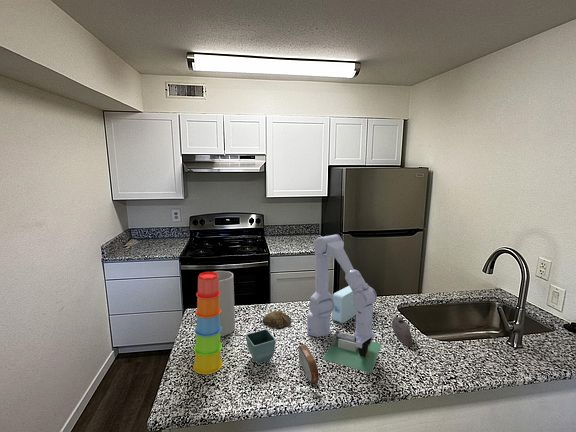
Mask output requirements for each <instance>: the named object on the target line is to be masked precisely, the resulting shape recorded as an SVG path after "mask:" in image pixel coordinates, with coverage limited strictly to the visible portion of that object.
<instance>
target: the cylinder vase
mask: <svg viewBox="0 0 576 432" xmlns="http://www.w3.org/2000/svg"><path fill="white" fill-rule="evenodd" d="M214 272H215V273H217V274H218V276H219V291H220V295H219V308H220V309H221V313H220V326H221V331H220V337H224V336H225V337H226V336H227V335H230V334H231V333H233V332H235V331H234V330H235V328H236V318H235V317H236V316H235V290H234V289H235V286H234V273H233V272H231V271H227V270H226V271H225V270H216V271H214Z"/></svg>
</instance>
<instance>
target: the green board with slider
mask: <svg viewBox="0 0 576 432" xmlns="http://www.w3.org/2000/svg"><path fill="white" fill-rule="evenodd" d="M336 332H339V334H344V335H348V336H353V337H356V336H355V335H354V334H351V333H347V332H342V333H340V330H339V329H335V333H336ZM382 345H383V344H382V343H380V342H378V341H373V340H372V343H371V345H370V352H369V356H368V358H365V357H362V356H360V355H359V350H358V347H356V342H351V341H347V340H343V339H338V338H336V336H334V335H331V345H330V346H329V348H328V349H327V351H326V352H325V354H324V355H323V357H322V360H325V361H327V362H331V363H335V364H337V365H342V366H345V367H348V368H352V369H355V370H359V371H362V372H366V373H369V374H372V373H373V370H374V367H375V364H376V362H377V359H378V356H379V353H380V350H381V347H382Z"/></svg>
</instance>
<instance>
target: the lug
mask: <svg viewBox="0 0 576 432" xmlns="http://www.w3.org/2000/svg"><path fill="white" fill-rule="evenodd" d="M369 352H370V344H369V346H368V350H367V354H366V356H365V358H368V356H369ZM362 357H363V356H362Z"/></svg>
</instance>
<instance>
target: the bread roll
mask: <svg viewBox="0 0 576 432" xmlns="http://www.w3.org/2000/svg"><path fill="white" fill-rule="evenodd" d="M291 321H292V318H291V317H290V316H289V315H288V314H286V313H284V312H283V311H281V310H274V311H270V312H268V313H266V314H265V316H264V317H262V323H263V324H264V325H266V326H267V327H270V328H273V329H274V328H275V329H282V328H284V327H289V326H291V325H292V322H291Z"/></svg>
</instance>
